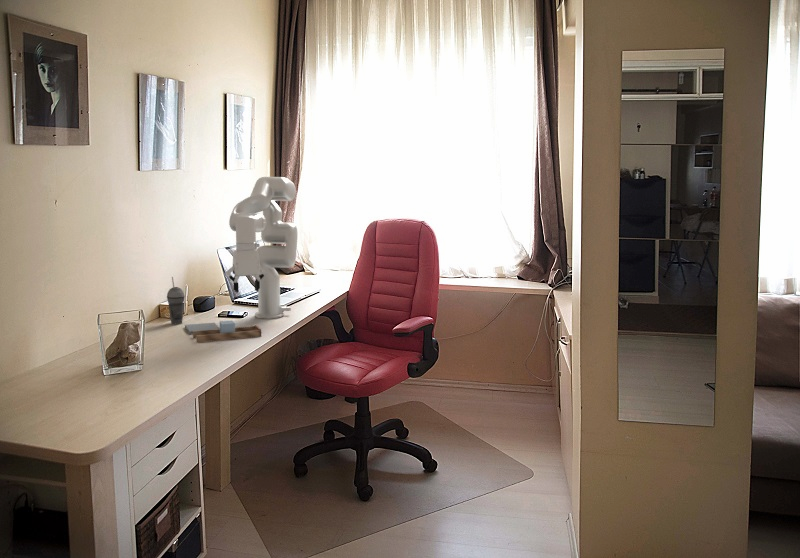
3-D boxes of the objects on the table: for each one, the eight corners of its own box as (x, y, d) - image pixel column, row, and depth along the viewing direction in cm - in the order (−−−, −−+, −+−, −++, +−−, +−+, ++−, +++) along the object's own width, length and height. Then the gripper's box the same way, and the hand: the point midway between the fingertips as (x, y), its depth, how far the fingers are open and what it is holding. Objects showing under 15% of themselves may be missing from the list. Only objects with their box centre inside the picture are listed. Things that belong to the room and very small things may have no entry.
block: (232, 335, 288) (232, 320, 287) (235, 338, 283) (235, 323, 282) (219, 336, 286) (219, 321, 285) (222, 339, 281) (222, 324, 280)
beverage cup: (182, 325, 301) (180, 278, 298) (165, 325, 301) (163, 278, 298) (187, 321, 308) (186, 275, 305) (171, 321, 309) (169, 275, 305)
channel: (256, 331, 293) (256, 324, 293) (261, 336, 286) (261, 329, 286) (193, 337, 283) (193, 329, 282) (197, 342, 276) (196, 334, 275)
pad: (214, 325, 303) (214, 322, 303) (220, 331, 292) (220, 328, 292) (185, 327, 298) (184, 324, 298) (189, 334, 287) (189, 331, 287)
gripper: (265, 245, 289) (265, 288, 292) (221, 246, 281) (222, 291, 285) (270, 247, 282) (270, 291, 285) (225, 249, 275) (226, 294, 278)
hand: (246, 291), depth 285 cm, fingers open, 7 cm apart
